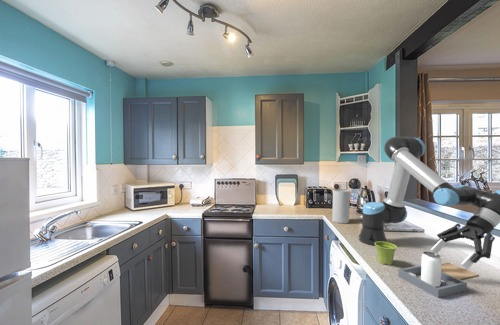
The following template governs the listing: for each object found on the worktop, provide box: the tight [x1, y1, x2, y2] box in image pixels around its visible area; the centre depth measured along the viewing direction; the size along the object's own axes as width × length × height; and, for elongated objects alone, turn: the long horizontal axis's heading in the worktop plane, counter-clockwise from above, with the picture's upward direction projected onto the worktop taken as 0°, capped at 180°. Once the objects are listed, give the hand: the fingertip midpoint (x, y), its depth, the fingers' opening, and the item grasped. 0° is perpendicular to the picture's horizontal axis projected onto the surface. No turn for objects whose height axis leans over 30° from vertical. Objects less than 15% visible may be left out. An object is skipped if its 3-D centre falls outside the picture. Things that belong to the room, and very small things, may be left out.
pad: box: [441, 262, 480, 281], centre depth 106 cm, size 12×12×1 cm
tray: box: [397, 264, 468, 298], centre depth 95 cm, size 16×16×3 cm
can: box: [420, 251, 443, 288], centre depth 95 cm, size 6×6×12 cm
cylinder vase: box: [331, 188, 351, 224], centre depth 185 cm, size 12×12×25 cm
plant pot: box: [375, 241, 398, 266], centre depth 114 cm, size 9×9×9 cm
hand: (447, 258), depth 94 cm, fingers open, 13 cm apart
